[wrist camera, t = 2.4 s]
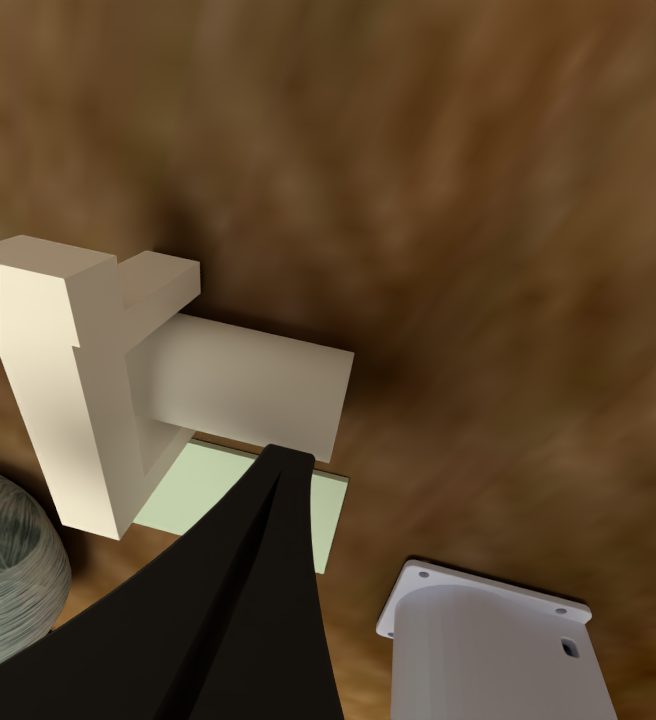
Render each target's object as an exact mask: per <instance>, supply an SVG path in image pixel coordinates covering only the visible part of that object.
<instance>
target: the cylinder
mask: <svg viewBox="0 0 656 720" xmlns="http://www.w3.org/2000/svg"><path fill="white" fill-rule="evenodd" d="M354 354H355V353H353V352H349V351H344V350H340V349H336V348H331V347H327V346H322V345H318V344H313V343H309V342H305V341H300V340H296V339H291V338H287V337H283V336H278V335H274V334H269V333H265V332H261V331H256V330H252V329H247V328H243V327H238V326H234V325H230V324H225V323H221V322H216V321H212V320H208V319H203V318H199V317H194V316H190V315H186V314H181V313H176V314H174V315H173V316H172V317H171V318H169V319H168V320H167V321H166V322H164V323H163V324H162V325H161V326H159V327H158V328H157V329H156V330H155V331H153V332H152V333H151V334H150V335H148V336H147V337H146V338H145V339H143V340H142V341H141V342H140V343H138V344H137V345H136V346H135V347H133V348H132V349H131V350H130V351H128V352H127V353H126V354H125V361H126V367H127V374H128V380H129V386H130V392H131V399H132V405H133V411H134V415H137V416H141V417H145V418H149V419H153V420H157V421H161V422H165V423H169V424H173V425H177V426H181V427H185V428H189V429H193V430H197V431H201V432H205V433H209V434H213V435H217V436H221V437H225V438H229V439H233V440H238V441H242V442H246V443H250V444H254V445H258V446H262V447H266V445H268V444H270V443H271V444H275V445H279V446H283V447H287V448H291V449H295V450H299V451H303V452H307V453H311V454H313V455H314V457H315V460H318V461H322V462H326V463H329V462H330V458H331V454H332V450H333V446H334V442H335V438H336V434H337V430H338V425H339V421H340V417H341V412H342V408H343V404H344V399H345V395H346V390H347V386H348V381H349V377H350V372H351V368H352V363H353V359H354Z"/></svg>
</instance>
